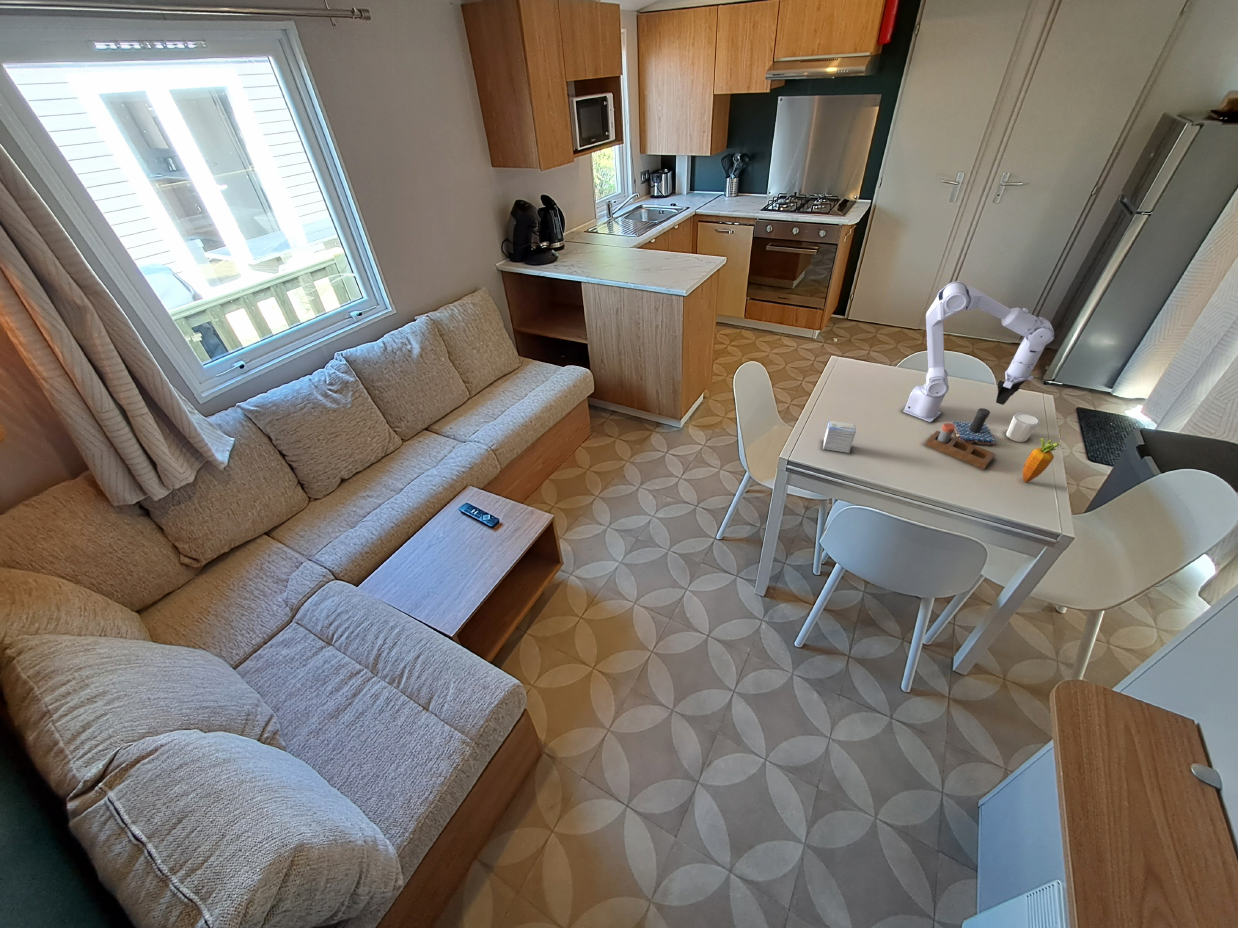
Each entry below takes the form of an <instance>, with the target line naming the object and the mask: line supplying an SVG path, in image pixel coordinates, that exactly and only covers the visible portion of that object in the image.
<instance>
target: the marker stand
mask: <svg viewBox="0 0 1238 928" xmlns="http://www.w3.org/2000/svg"><path fill="white" fill-rule="evenodd" d="M940 432H941V430H936V431H934V433H933V434H932V435H930V437H928V438H927V440H926V443H925V446H926V447H929V448H931V449H933V450H936V451H938V452H940V453H943V454H945V455H947V456H950V457H952V458H955V459H957V460H960V461H962V462H965V463H967V464H969V465H972V466H974V467H975V468H979V469H981V470H985V469H986V468H987V466H989V465H990V463H991V462H992V461H993V460H994V458H995V456H996V452H993V451H990V450H988V449H985V448H982V447H980V446H977V445H975V444H973V443H968V442H965V441H963V440H960V439H958V438H959V437H955V436H953V435H951V437H950V439H949V441H948V443H947V444H945V443H943V442H940V441H938V440H937V439H938V437H939V434H940Z"/></svg>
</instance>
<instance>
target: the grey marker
mask: <svg viewBox="0 0 1238 928" xmlns="http://www.w3.org/2000/svg"><path fill="white" fill-rule="evenodd" d="M954 429H955V426H954V425H952V423H948V422H946V423H943V425H942V427H941V430H940V434H939V437H938V439H937V440H938V441H940V442H943V443H945V444H947V443H948V441H949V439H950V437H951V436H953V433H954V432H955V431H954Z"/></svg>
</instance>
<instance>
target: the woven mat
mask: <svg viewBox="0 0 1238 928" xmlns="http://www.w3.org/2000/svg"><path fill="white" fill-rule="evenodd" d="M951 424H952V425H954V426H955V429H954V431H953V432H955V436H956V438H958V439H960V440H963V441H965V442H968V443H970V444H973V443H974V444H978V445H988V446H989V445H993V446H995V445H996V439H995V438H994V436H993V433H992V432H991V429H989V427H988V425H987V424H985V423H984V425H983V427H982V429H981V431H980V432H979V433H973V432H971V431H970V430H969V428H970V426H971V424H972V422H966V421H964V422H963V421H962V422H961V421H956V420H954V421H952V423H951Z"/></svg>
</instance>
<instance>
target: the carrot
mask: <svg viewBox="0 0 1238 928" xmlns="http://www.w3.org/2000/svg"><path fill="white" fill-rule="evenodd" d="M1052 442H1053V439H1049V440H1048V441H1047V443H1046V444H1045V438H1040V443H1041V444H1040V445H1041V447H1037V448H1034V449H1033V450H1032V451H1031V452H1030V454H1029V456H1028V457H1027V459H1026V461H1025V464H1024V466H1023V470H1022V480H1023V482H1024V483H1029V482H1031V481H1033V480H1034V479H1036V478H1037V477H1039V476H1040V475H1041V474H1042V473H1043V472H1044V471H1045V470H1046V469H1047V468H1048V467H1049V465H1050V464H1051V462H1052V461H1053V460H1054V458H1055V456H1054V453H1052V452H1053V451H1056V450H1057V449H1056V448H1058V446H1060V444H1059V443H1058V442H1054V443H1053V444H1052Z"/></svg>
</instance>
